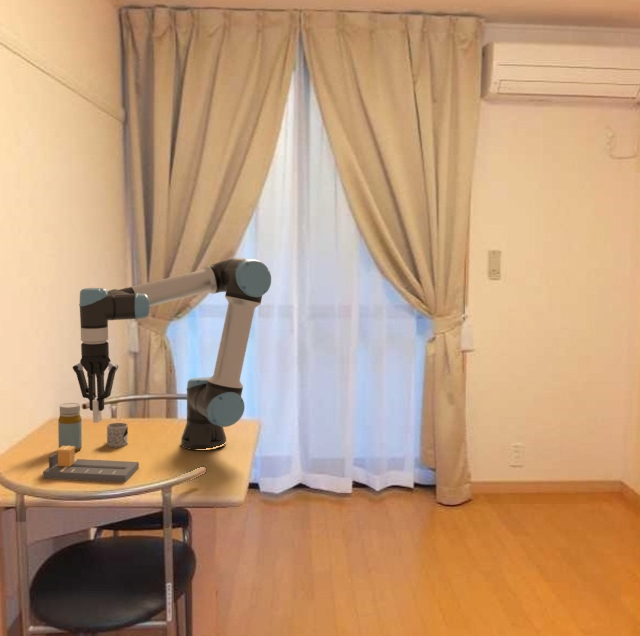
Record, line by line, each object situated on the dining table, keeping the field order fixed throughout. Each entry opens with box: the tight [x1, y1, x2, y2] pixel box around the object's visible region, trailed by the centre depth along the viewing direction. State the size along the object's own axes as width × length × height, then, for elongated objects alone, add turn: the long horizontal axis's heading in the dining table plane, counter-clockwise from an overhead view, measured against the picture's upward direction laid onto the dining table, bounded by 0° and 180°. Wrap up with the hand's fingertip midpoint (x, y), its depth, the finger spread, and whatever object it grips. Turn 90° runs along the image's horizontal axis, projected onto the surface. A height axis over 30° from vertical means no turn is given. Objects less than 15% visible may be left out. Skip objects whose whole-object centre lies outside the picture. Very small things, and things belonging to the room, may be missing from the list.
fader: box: [56, 446, 76, 467], centre depth 199 cm, size 4×4×5 cm
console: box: [42, 452, 140, 483], centre depth 199 cm, size 24×12×5 cm, turn 87°
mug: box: [106, 422, 129, 448], centre depth 229 cm, size 10×7×7 cm, turn 20°
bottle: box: [57, 402, 83, 453], centre depth 219 cm, size 7×7×15 cm
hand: (97, 421), depth 198 cm, fingers closed
